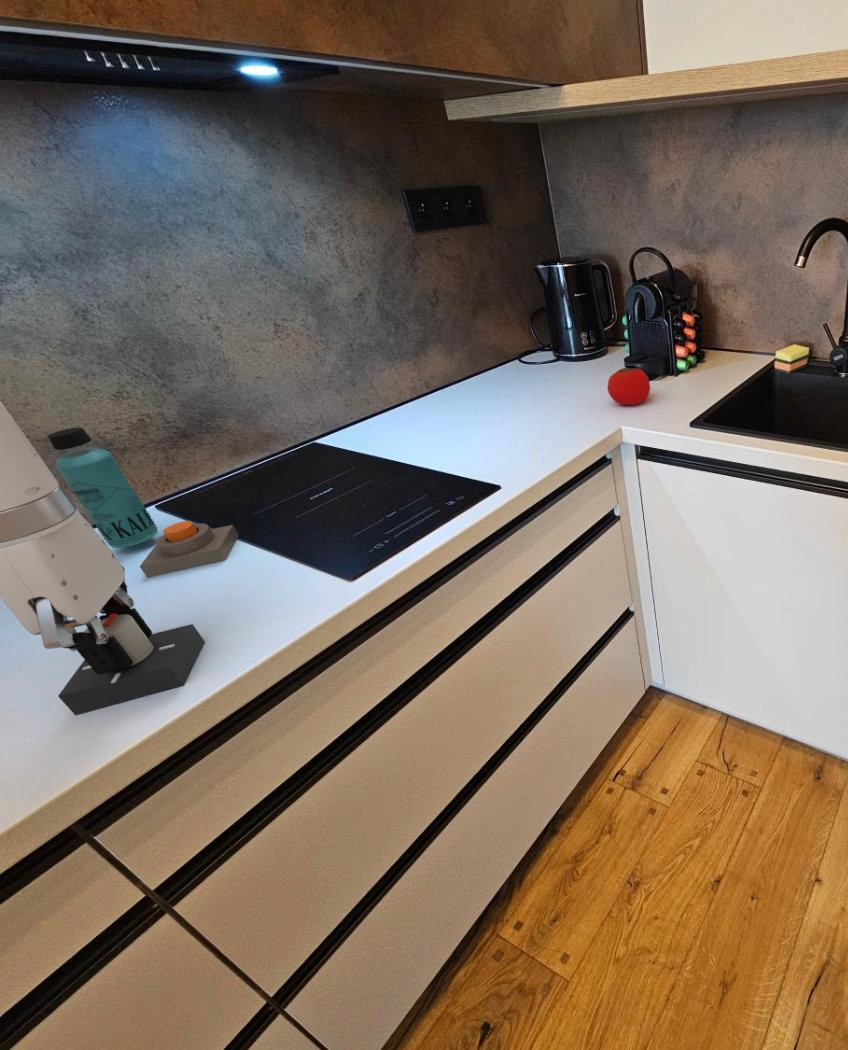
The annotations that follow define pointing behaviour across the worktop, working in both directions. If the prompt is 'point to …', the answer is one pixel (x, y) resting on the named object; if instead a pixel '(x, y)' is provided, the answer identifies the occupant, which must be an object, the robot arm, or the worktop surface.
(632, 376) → the tomato
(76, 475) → the beverage bottle
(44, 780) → the worktop surface
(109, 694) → the black angular plate
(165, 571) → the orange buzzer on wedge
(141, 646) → the dial
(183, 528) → the lid button
